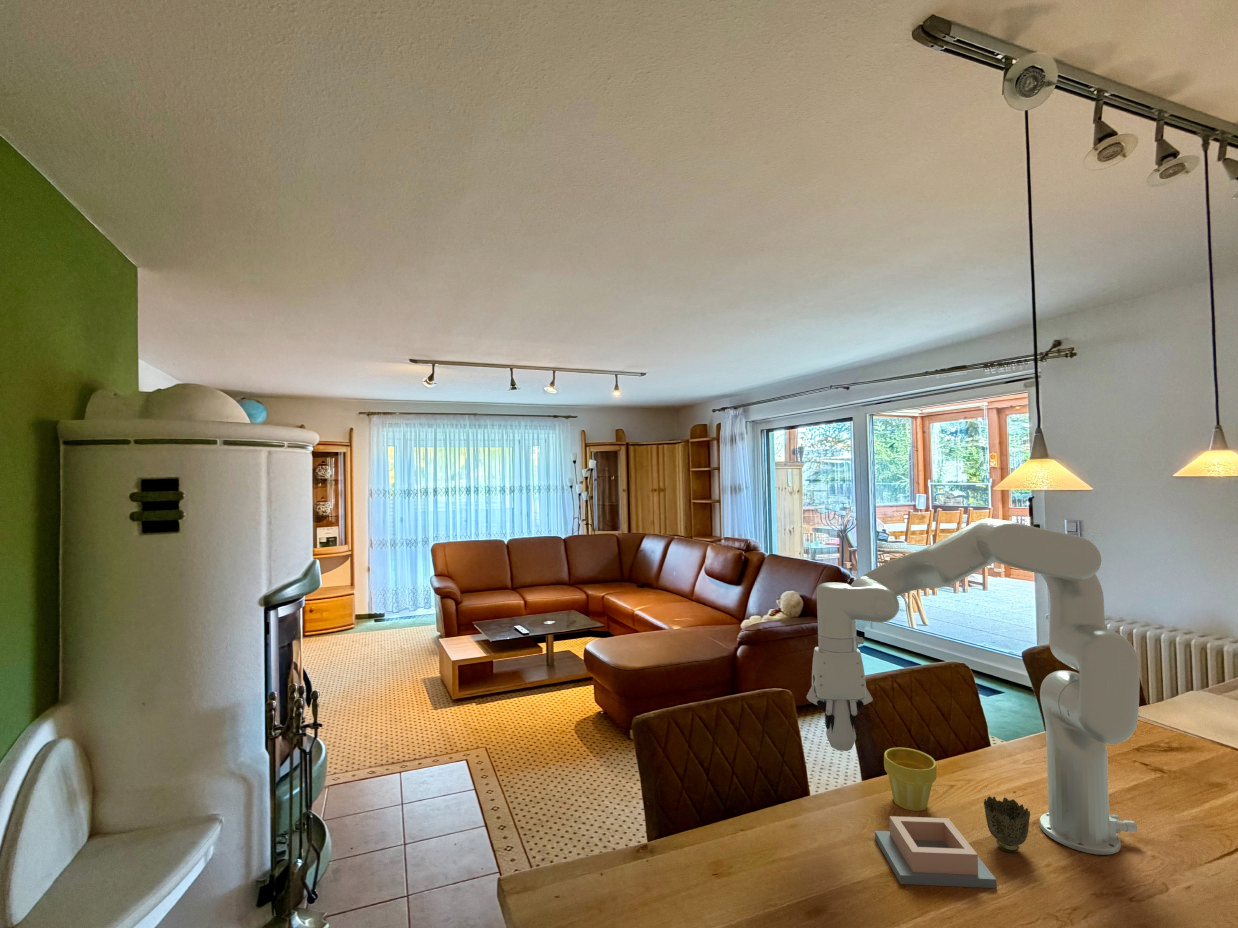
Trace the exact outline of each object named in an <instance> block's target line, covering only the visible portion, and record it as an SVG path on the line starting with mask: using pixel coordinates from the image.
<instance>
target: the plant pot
mask: <svg viewBox="0 0 1238 928" xmlns="http://www.w3.org/2000/svg"><path fill="white" fill-rule="evenodd" d="M883 767H884V771H885V773H886V774H887V776H888V780H889V785H890V789H891V795H892V801H894V803H895V804H896V805H897V806H899V807H900V808H902V809H905V810H906V811H907V810H908V811H910V812H911V811H913V812H922V811H925V810H926V809H927V808H928V804H929V799H930V795H931V791H932V786H933V783H935V782H936V780H937V761H936V760H935V759H934V757H932V756H931V755H929V754H927V753H925V752H923V751H921V750H918V749H913V748H910V747H909V748H908V747H891V748H888V749H887V750H885V751H884V754H883Z"/></svg>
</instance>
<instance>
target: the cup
mask: <svg viewBox="0 0 1238 928" xmlns="http://www.w3.org/2000/svg"><path fill="white" fill-rule="evenodd" d="M983 807H984V813H985V819H986V825H987V828H988V830H989V832H990V834H991V835H992V837H993V838H994V839H996V840H995V842H996V845H997V847H998V848H999V849H1001V850H1002V851H1003V852H1007V853H1018V851H1019V850H1020V845H1023V844H1024V843H1025V842H1026V840H1027V837H1028V835H1029V828H1030V819H1031V812H1030V810H1029V808H1028V807H1026V808H1025V806H1024V805H1023V803H1021V804H1019V803H1018V802H1017V801H1016V799H1008V798H1007V797H1003V799H1002V800H1001V799H999V800H998V799H996V796H990V795H989V796H987V798H984V800H983Z"/></svg>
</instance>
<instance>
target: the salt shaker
mask: <svg viewBox="0 0 1238 928" xmlns="http://www.w3.org/2000/svg"><path fill="white" fill-rule="evenodd" d="M832 715H834V717H835V719H834V727H833V731H832V728H831V723H830V728H829V729H827V728H826V731H825V734H826V735H825V736H826V738H827V740H828V742H829V745H830V747H831V748H832V749H834V750H836V751H840V752H848V751H850V750H852V749H853V747H854V744H855V743H856V739H857V735H856V729H854V725H853V729H852V725H851V721H850V715H851V713H850V707H849V702H848V700H833V704H832Z"/></svg>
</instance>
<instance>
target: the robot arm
mask: <svg viewBox="0 0 1238 928" xmlns="http://www.w3.org/2000/svg"><path fill="white" fill-rule="evenodd" d="M995 563H997V564H1000V565H1003V566H1008V567H1011V568H1014V569H1018V570H1023V571H1026V572H1031V573H1035V574H1038V575H1039V574H1040V576H1041V577H1042V578H1043V580H1044V582H1045V583H1046V585H1047V588H1048V591H1049V605H1050V609H1049V611H1050V612H1049V634H1048V635H1049V639H1048V641H1049V642H1048V643H1049V649H1050V651H1051V653H1052V655H1053V656H1054V657H1055V658H1056V659H1057V660H1058V661H1059V662H1062V663H1063V664H1065V665H1066V666H1068V667H1070V668H1072V669H1073V670H1076V671H1078V672H1076V671H1071V670H1056V671H1053V672H1051V673H1049V674H1048V675H1047V676H1045V678H1044V679H1043V680H1042V682H1041V685H1040V688H1039V689H1040V690H1039V699H1040V705H1041V709H1042V714H1043V718H1044V719H1043V720H1044V725H1045V733H1046V734H1045V736H1046V737H1045V738H1046V764H1047V765H1046V767H1047V769H1046V770H1047V772H1046V773H1047V796H1048V797H1047V801H1048V803H1047V804H1048V805H1047V806H1048V812H1045V813H1043V814H1042V815H1041V816H1040V817H1039V827H1040V829H1041V831H1042V832H1043V833H1044V834H1046V835H1047V836H1048V837H1049V838H1050V839H1052V840H1053V841H1055V842H1057V843H1059V844H1060V845H1062V846H1065V847H1068V848H1069V849H1072V850H1075V851H1080V852H1083V853H1085V854H1092V855H1099V856H1100V855H1101V856H1102V855H1103V856H1105V855H1106V856H1109V855H1114V854H1116V853H1118V852H1119V851H1120V850H1121V848H1122V846H1121V843H1122V842H1121V839H1120V837H1119V836H1118V835H1117V834H1120V833H1121V832H1126V833H1137V832H1138V826H1137V824H1136V822H1135V821H1134V820H1128V819H1127V820H1126V819H1125V820H1124V819H1122V820H1120V819H1121V818H1120V817H1119V815H1118V814H1110V802H1109V801H1110V800H1109V799H1110V798H1109V796H1110V795H1109V776H1108V775H1109V769H1108V768H1109V767H1108V766H1109V765H1108V761H1109V760H1108V758H1109V757H1108V750H1107V749H1108V748H1107V745H1117V744H1121V743H1124V742H1126V741H1128V740H1129V738H1131V737H1132V736H1133V734H1134V733H1135V731H1136V728H1137V726H1138V722H1139V721H1138V720H1139V715H1140V714H1139V711H1140V709H1139V708H1140V707H1139V706H1140V686H1141V685H1140V681H1141V680H1140V679H1141V677H1140V676H1141V673H1140V672H1141V669H1140V667H1141V666H1140V665H1141V664H1140V660H1139V656H1138V654H1137V651H1136V649H1135V648H1134V646H1133V645H1132V643H1131V642H1130V641H1129V640H1128V639H1127V638H1125V636H1123V635H1121V634H1120V633H1117V632H1115V631H1113V630H1111V629H1108V628H1106V623H1105V622H1106V620H1105V599H1104V592H1103V588H1102V585H1101V582H1100V579H1099V578H1098V576H1097V572H1098V571H1099V570H1100V568H1101V565H1102V555H1101V553H1100V550H1099V549H1098V547H1097V546H1096V544H1094V543H1093V542H1091V540H1089V539H1087V538H1085V537H1083V536H1081V535H1080V536H1079V535H1074V534H1070V533H1066V532H1065V533H1064V532H1062V531H1061V532H1060V531H1055V530H1049V529H1045V528H1041V527H1036V526H1032V525H1028V524H1023V523H1019V522H1015V521H1012V520H1003V519H999V518H983V519H979V520H977V521H974V522H972V523H970V524H968V525H967V526H964V527H963V528H960V529H959V530H957V531H955V532H953V533H951V534H949V535H948V536H946V537H944V538H942V539H940V540H939V541H937V542H935V543H932V544H931V545H928V546H927V547H925V548H923V549H921V550H918V551H915V552H911V553H908V554H906V555H904V556H901V557H898V558H897V559H893V560H890V561H888V562H886V563H884V564H881V565H879V566H877V567H875V568H874V569H871V570H870V571H868V572H866V573H864V574H863V575H861V576H859V577H858V578H856V579H854V581H852V583H851V584H848V583H845V582H834V581H833V582H823V583H820V584H819V585H818V586H817V588H816V609H817V610H816V611H817V612H816V613H817V614H816V615H817V635H818V636H817V640H818V641H817V642H818V643H817V644H818V646H815V647H814V649H813V657H812V665H811V667H812V668H811V669H812V670H811V687H810V688H809V691H808V692H807V695H806V699H807V700H808V702H810V703H812V704H814V705H816V706H818V707H819V708H820V709H821V710H822V711H823V712H824V723H825V728H826V730H827V729H829V728H830V723H831V728H832V731H833V727H834V719H835V717H834V715H832V704H833V700H848V702H849V707H850V713H851V715H850V721H851V725H852V729H853V725H854V730H856V729H857V728H856V727H857V725H856V724H857V723H856V716H857V715H858V712H859V711H860V710H861V709H862V708H863V707H864V706H865V705H867V704H869V703H872V702H873V700H874V699H873V696H872V695H871V693H870V691H869V690H868V688H867V684H866V676H865V668H864V663H863V657H862V653H861V650H860V649H859V648H858V647H859V645H864V644H865V639H864V638H863V637H860V636H858V635H857V621H864V622H870V623H877V624H879V623H888V622H889V621H891V620H893V619H894V618H895V617H897V615H898V613H899V611H900V602H899V601H900V600H899V599H898V597H899V596H901V595H904V594H906V593H909V592H912V591H913V592H914V591H916V590H917V591H918V590H922V589H923V590H925V589H941V588H946V587H950V586H952V585H954V584H956V583H959V582H960V581H962V580H964V579H966V578H967V577H969V576H971V575H974V574H975V573H976V572H979V571H980V570H983V569H985V568H987V567H988V566H991V565H992V564H995Z"/></svg>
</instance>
